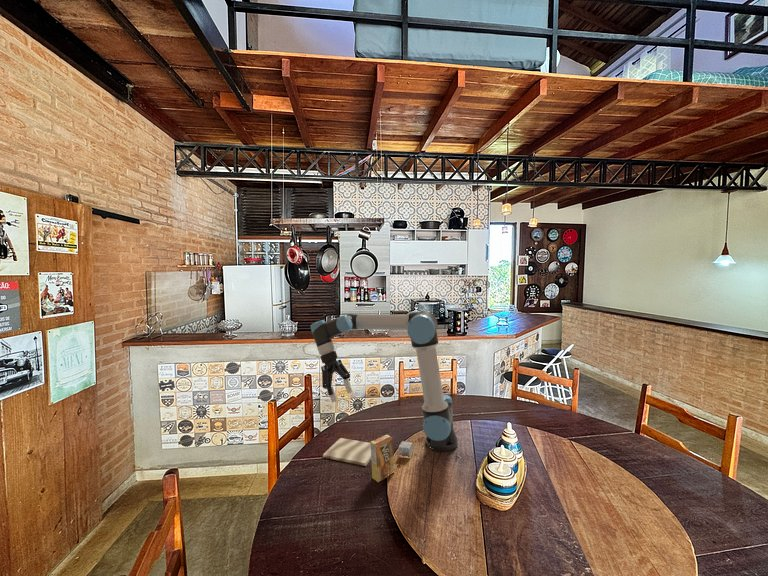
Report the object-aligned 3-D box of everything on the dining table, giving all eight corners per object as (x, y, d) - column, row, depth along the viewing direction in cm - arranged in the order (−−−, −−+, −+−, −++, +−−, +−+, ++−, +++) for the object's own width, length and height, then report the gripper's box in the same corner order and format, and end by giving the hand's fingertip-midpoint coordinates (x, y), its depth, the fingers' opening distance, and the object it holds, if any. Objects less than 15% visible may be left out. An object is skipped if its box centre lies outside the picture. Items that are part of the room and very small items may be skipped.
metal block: (413, 453, 148) (412, 442, 148) (409, 459, 144) (409, 448, 144) (402, 451, 150) (402, 441, 150) (399, 457, 146) (398, 446, 145)
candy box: (388, 469, 137) (386, 433, 137) (395, 473, 134) (393, 437, 133) (371, 478, 132) (369, 441, 131) (378, 483, 128) (376, 445, 128)
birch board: (380, 447, 155) (380, 444, 155) (365, 465, 140) (365, 463, 140) (340, 440, 164) (340, 437, 164) (322, 457, 149) (322, 454, 149)
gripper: (335, 351, 165) (349, 391, 162) (305, 360, 142) (320, 408, 139) (347, 346, 162) (362, 387, 159) (318, 355, 139) (334, 403, 136)
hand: (342, 397), depth 149 cm, fingers open, 13 cm apart
